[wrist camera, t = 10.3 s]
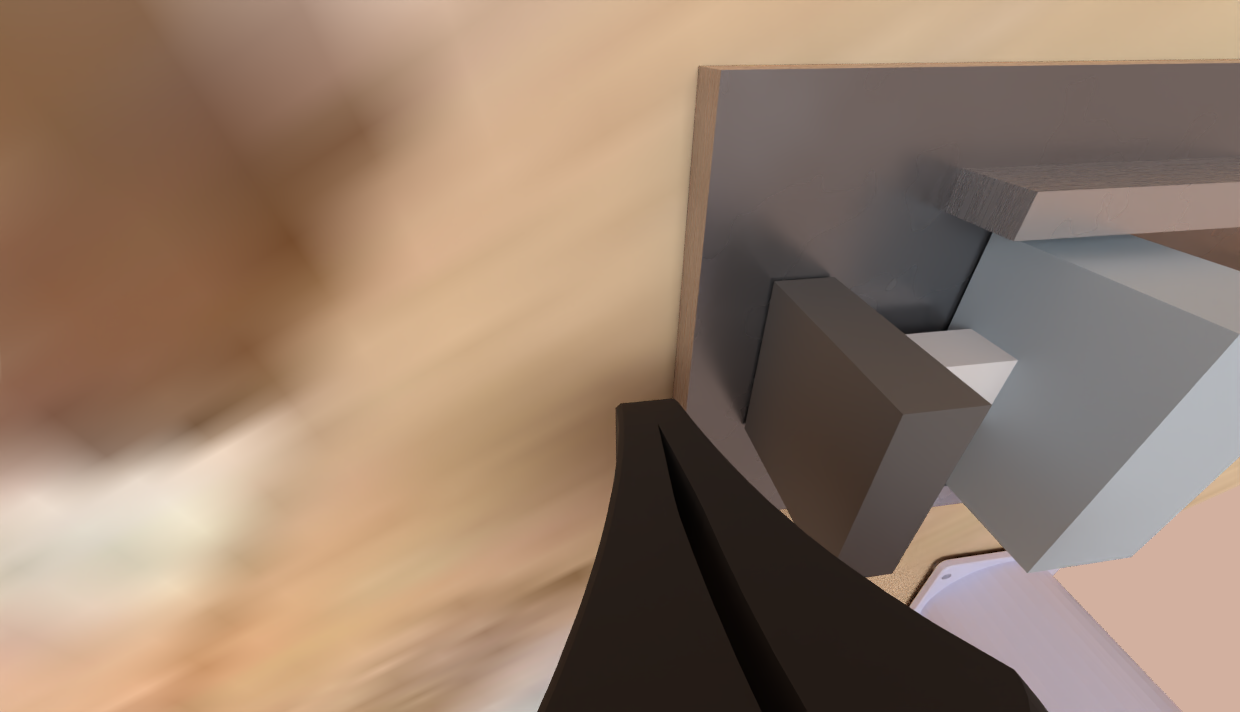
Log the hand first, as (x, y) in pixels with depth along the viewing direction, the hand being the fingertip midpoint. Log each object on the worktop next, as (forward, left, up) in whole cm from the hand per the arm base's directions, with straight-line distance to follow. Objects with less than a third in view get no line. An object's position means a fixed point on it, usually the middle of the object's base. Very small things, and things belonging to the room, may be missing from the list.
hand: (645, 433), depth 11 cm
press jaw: (0, -8, -2) cm, 8 cm away
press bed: (0, -14, -4) cm, 15 cm away
